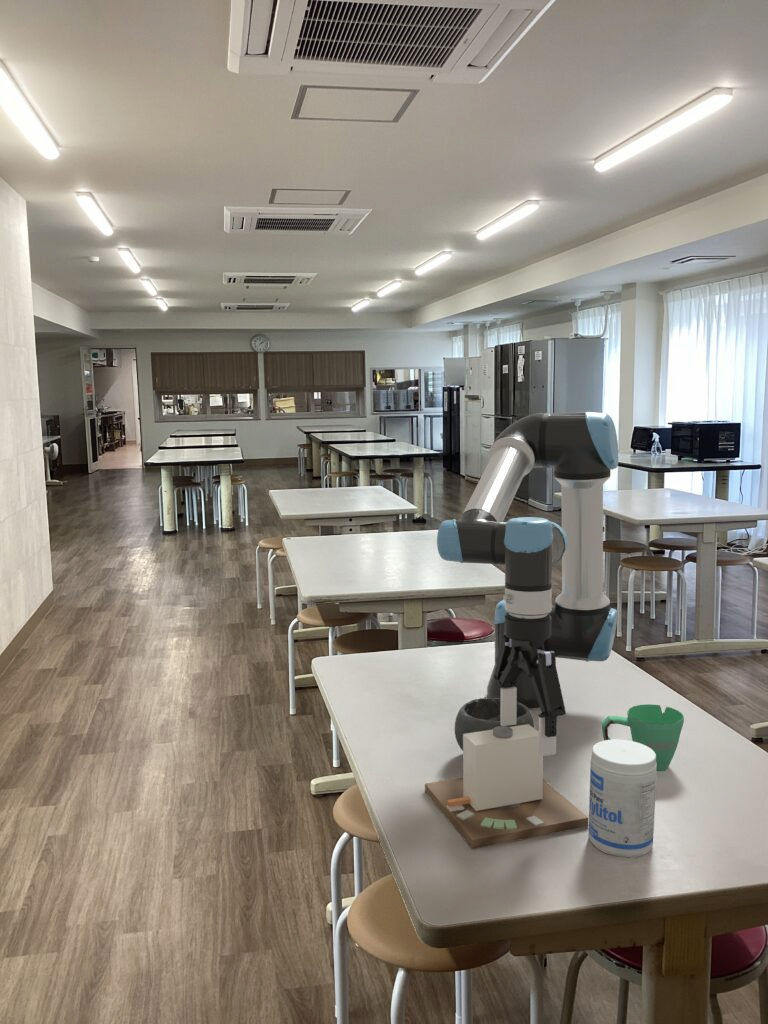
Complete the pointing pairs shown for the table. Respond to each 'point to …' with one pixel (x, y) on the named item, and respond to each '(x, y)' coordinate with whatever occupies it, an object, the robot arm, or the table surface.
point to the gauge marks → (489, 822)
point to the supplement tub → (622, 797)
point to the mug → (651, 730)
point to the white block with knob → (501, 767)
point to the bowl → (485, 717)
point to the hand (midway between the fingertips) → (526, 739)
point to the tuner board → (507, 815)
